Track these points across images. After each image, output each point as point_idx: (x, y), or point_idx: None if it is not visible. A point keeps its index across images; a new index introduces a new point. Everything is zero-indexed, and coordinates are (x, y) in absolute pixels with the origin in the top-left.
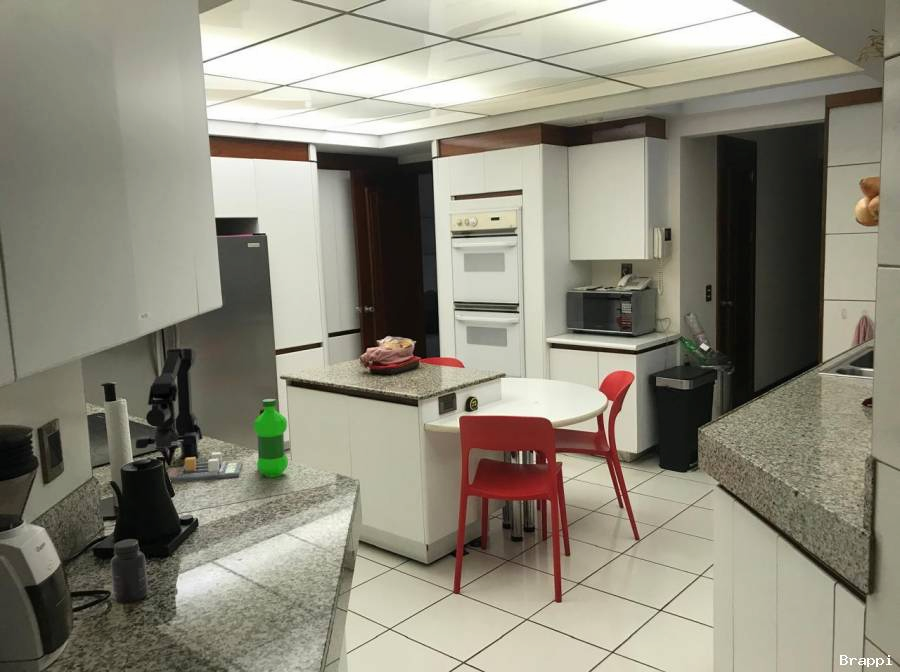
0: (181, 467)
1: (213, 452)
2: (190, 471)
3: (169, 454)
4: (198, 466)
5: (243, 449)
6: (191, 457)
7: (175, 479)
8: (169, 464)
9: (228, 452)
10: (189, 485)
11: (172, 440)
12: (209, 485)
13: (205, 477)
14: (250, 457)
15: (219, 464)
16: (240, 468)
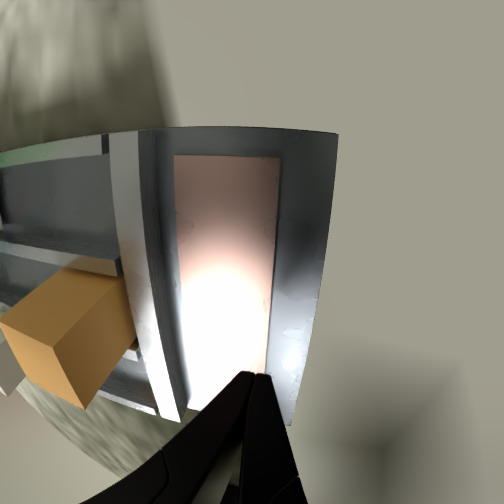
0: (200, 402)
1: (4, 394)
2: (78, 251)
3: (186, 493)
4: None
5: (86, 453)
6: (46, 386)
7: (187, 128)
8: (246, 382)
9: (112, 460)
10: (87, 26)
11: None
12: (9, 38)
13: (13, 149)
14: (25, 386)
15: (1, 311)
16: None
